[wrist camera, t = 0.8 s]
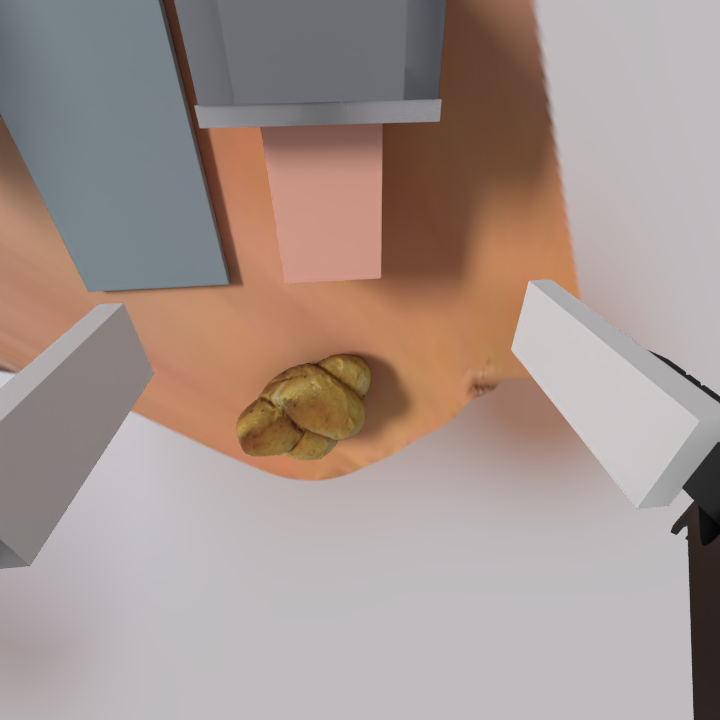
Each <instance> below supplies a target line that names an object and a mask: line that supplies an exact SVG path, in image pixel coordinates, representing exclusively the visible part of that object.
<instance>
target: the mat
mask: <svg viewBox="0 0 720 720" xmlns="http://www.w3.org/2000/svg"><path fill="white" fill-rule="evenodd" d="M0 114H1V116H2V118H3V120H4V122H5V124H6V126H7V128H8V130H9V132H10V134H11V136H12V138H13V140H14V143H15V145H16V147H17V149H18V151H19V153H20V155H21V157H22V159H23V161H24V163H25V165H26V167H27V169H28V171H29V173H30V175H31V177H32V179H33V181H34V183H35V185H36V187H37V189H38V191H39V193H40V195H41V197H42V199H43V201H44V203H45V205H46V207H47V209H48V211H49V213H50V215H51V217H52V220H53V222H54V224H55V226H56V228H57V230H58V232H59V234H60V236H61V238H62V240H63V242H64V244H65V246H66V248H67V250H68V252H69V254H70V256H71V258H72V260H73V262H74V264H75V266H76V268H77V270H78V272H79V274H80V276H81V278H82V280H83V282H84V284H85V286H86V288H87V290H88V292H94V291H113V290H132V289H151V288H170V287H189V286H208V285H227V284H229V283H230V281H231V280H230V276H229V271H228V267H227V263H226V259H225V255H224V251H223V247H222V243H221V238H220V234H219V230H218V226H217V222H216V218H215V214H214V209H213V205H212V201H211V197H210V193H209V189H208V185H207V181H206V176H205V172H204V168H203V164H202V160H201V156H200V152H199V147H198V143H197V139H196V135H195V131H194V127H193V123H192V119H191V114H190V110H189V106H188V102H187V98H186V94H185V90H184V85H183V81H182V77H181V73H180V69H179V65H178V61H177V57H176V52H175V48H174V44H173V40H172V36H171V32H170V28H169V23H168V19H167V15H166V11H165V7H164V3H163V0H0Z"/></svg>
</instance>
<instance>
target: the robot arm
mask: <svg viewBox="0 0 720 720" xmlns="http://www.w3.org/2000/svg"><path fill="white" fill-rule="evenodd" d="M511 350H512V352H513V353H514V354H515V355H516V357H517V358H518V359H519V360H520V362H521V363H522V364H523V365H524V367H525V368H526V369H527V370H528V372H529V373H530V374H531V376H532V377H533V378H534V379H535V381H536V382H537V383H538V384H539V385H540V387H541V388H542V389H543V391H544V392H545V393H546V394H547V396H548V397H549V398H550V400H551V401H552V402H553V403H554V405H556V407H557V408H558V410H559V411H560V412H561V413H562V415H563V416H564V417H565V419H566V420H567V421H568V422H569V424H570V425H571V426H572V427H573V429H574V430H575V431H576V432H577V434H578V435H579V436H580V438H581V439H582V440H583V441H584V443H585V444H586V445H587V446H588V448H589V449H590V450H591V451H592V453H593V454H594V455H595V457H596V458H597V459H598V460H599V462H600V463H601V464H602V465H603V467H604V468H605V469H606V470H607V472H608V473H609V474H610V476H611V477H612V478H613V479H614V481H615V482H616V483H617V484H618V486H619V487H620V488H621V489H622V491H623V492H624V493H625V494H626V496H627V497H628V498H629V500H630V501H631V502H632V503H633V505H634V506H635V507H636V508H637V509H640V508H650V507H661V506H669V505H670V504H671V502H672V501H673V500H674V499H675V497H676V496H677V495H678V494H679V492H680V491H681V490H682V489H684V490H685V491H686V492H687V493H688V495H689V496H690V497H691V498H692V499H693V500H694V502H693V503H692V504H691V505H690V506H689V507H688V509H687V510H686V511H685V512H684V513H683V515H682V516H681V517H680V518H679V519H678V520H677V521H676V523H675V524H674V525H673V527H672V530H671V533H673V534H676V535H677V534H678V533H679V532H680V530H681V529H682V528H683V527H685V526H688V536H687V537H686V539H687V540H688V556H689V587H690V617H691V648H692V679H693V708H694V720H720V396H718V395H717V394H716V393H714V392H713V391H712V390H710V389H709V388H707V387H706V386H705V385H702V386H701V384H700V382H699V381H698V380H696V379H695V378H693V377H692V376H691V375H686V372H685V371H684V370H682V369H681V368H680V367H678V366H677V365H675V364H674V363H672V362H671V361H670V360H668V359H666V358H664V357H662V356H660V355H657V354H655V353H653V352H651V351H649V350H647V349H645V348H644V347H642V346H641V345H640V344H638V343H637V342H636V341H634V340H633V339H631V338H630V337H629V336H627V335H626V334H625V333H623V332H622V331H621V330H619V329H618V328H617V327H615V326H614V325H612V324H611V323H610V322H608V321H607V320H606V319H604V318H603V317H601V316H600V315H599V314H597V313H596V312H595V311H593V310H592V309H591V308H589V307H588V306H587V305H585V304H584V303H583V302H581V301H580V300H578V299H577V298H576V297H574V296H573V295H572V294H570V293H569V292H568V291H566V290H565V289H563V288H562V287H561V286H559V285H558V284H557V283H555V282H554V281H553V280H533V281H529V283H528V287H527V290H526V294H525V298H524V302H523V306H522V310H521V313H520V317H519V321H518V325H517V329H516V333H515V336H514V340H513V344H512V348H511ZM153 375H154V371H153V369H152V367H151V365H150V362H149V360H148V358H147V355H146V353H145V351H144V349H143V346H142V344H141V342H140V339H139V337H138V335H137V333H136V330H135V328H134V326H133V323H132V321H131V319H130V316H129V314H128V312H127V310H126V307H125V305H124V303H117V304H99V305H97V306H96V307H95V308H94V309H93V310H91V311H90V312H89V313H88V314H87V315H86V316H84V317H83V318H82V319H81V320H80V321H79V322H77V323H76V324H75V325H74V326H73V327H72V328H70V329H69V330H68V331H67V332H66V333H65V334H63V335H62V336H61V337H60V338H59V339H58V340H56V341H55V342H54V343H53V344H52V345H51V346H49V347H48V348H47V349H46V350H45V351H44V352H42V353H41V354H40V355H39V356H38V357H37V358H35V359H34V360H33V361H32V362H31V363H30V364H28V365H27V366H26V367H25V368H24V369H23V370H21V371H20V372H19V373H18V374H17V375H16V376H14V377H13V378H12V379H11V380H10V381H9V382H7V383H6V384H5V385H4V386H3V387H2V388H0V569H3V568H13V567H24V566H30V565H31V564H32V562H33V561H34V559H35V558H36V556H37V554H38V553H39V551H40V550H41V548H42V547H43V545H44V543H45V542H46V540H47V539H48V537H49V536H50V534H51V533H52V531H53V529H54V528H55V527H56V525H57V523H58V522H59V520H60V519H61V517H62V516H63V514H64V512H65V511H66V510H67V508H68V506H69V505H70V503H71V502H72V500H73V499H74V497H75V496H76V494H77V492H78V491H79V489H80V488H81V486H82V485H83V483H84V482H85V480H86V478H87V477H88V475H89V474H90V472H91V471H92V469H93V468H94V466H95V465H96V463H97V461H98V460H99V458H100V457H101V455H102V454H103V452H104V451H105V449H106V448H107V446H108V444H109V443H110V441H111V440H112V438H113V437H114V435H115V434H116V432H117V430H118V429H119V427H120V426H121V424H122V422H123V421H124V420H125V418H126V417H127V415H128V413H129V412H130V410H131V409H132V407H133V406H134V404H135V403H136V401H137V399H138V398H139V396H140V395H141V393H142V392H143V390H144V389H145V387H146V386H147V384H148V382H149V381H150V379H151V378H152V376H153Z"/></svg>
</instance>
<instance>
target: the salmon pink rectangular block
mask: <svg viewBox="0 0 720 720" xmlns="http://www.w3.org/2000/svg"><path fill="white" fill-rule="evenodd" d="M261 132H262V139H263V145H264V152H265V158H266V165H267V172H268V178H269V185H270V191H271V198H272V204H273V211H274V217H275V224H276V230H277V237H278V244H279V250H280V257H281V263H282V270H283V276H284V283H303V282H321V281H339V280H358V279H376V278H381V229H382V142H383V123H373V124H338V125H303V126H267V127H261Z"/></svg>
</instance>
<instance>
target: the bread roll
mask: <svg viewBox="0 0 720 720" xmlns="http://www.w3.org/2000/svg"><path fill="white" fill-rule="evenodd" d="M370 383H371V371H370V369H369V367H368V365H367V364H366V362H365V361H364V360H362V359H361V358H359V357H358V356H354V355H349V354H336V355H332V356H329V357H328V358H326V359H323V360H322V361H320V362H319V363H317V364H310V363H306V364H303V365H297V366H296V367H292V368H290V369H288V370H286V371H284V372H282V373H281V374H279V375H278V376H276V377H275V378H274V379H272V380H271V381H270V382H269V383H268V384H267V386H266V387H265V388H264V390H263V392H262V393H261V394H260V396H259V398H258V399H257V400H255V401H254V402H253V403H252V404H251V405H250V406H248V407H247V408H246V409H245V410H244V411H243V412H242V414H241V415H240V417H239V418H238V422H237V426H236V430H237V435H238V439H239V443H240V445H241V447H242V449H243V451H244V452H245V453H246V454H249V455H251V456H271V455H281V454H284V455H286V456H290V457H292V458H295V459H300V460H316V459H321V458H322V457H323V456H325V455H326V454H327V453H329V452H330V451H331V450H332V449H333V448H334V447H335V445H336V444H337V442H338V439H346V438H350V437H352V436H354V435H356V434H357V433H358V432H360V430H361V429H362V427H363V426H364V423H365V420H366V409H365V402H364V397H365V395H366V393H367V392H368V390H369V385H370Z"/></svg>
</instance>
